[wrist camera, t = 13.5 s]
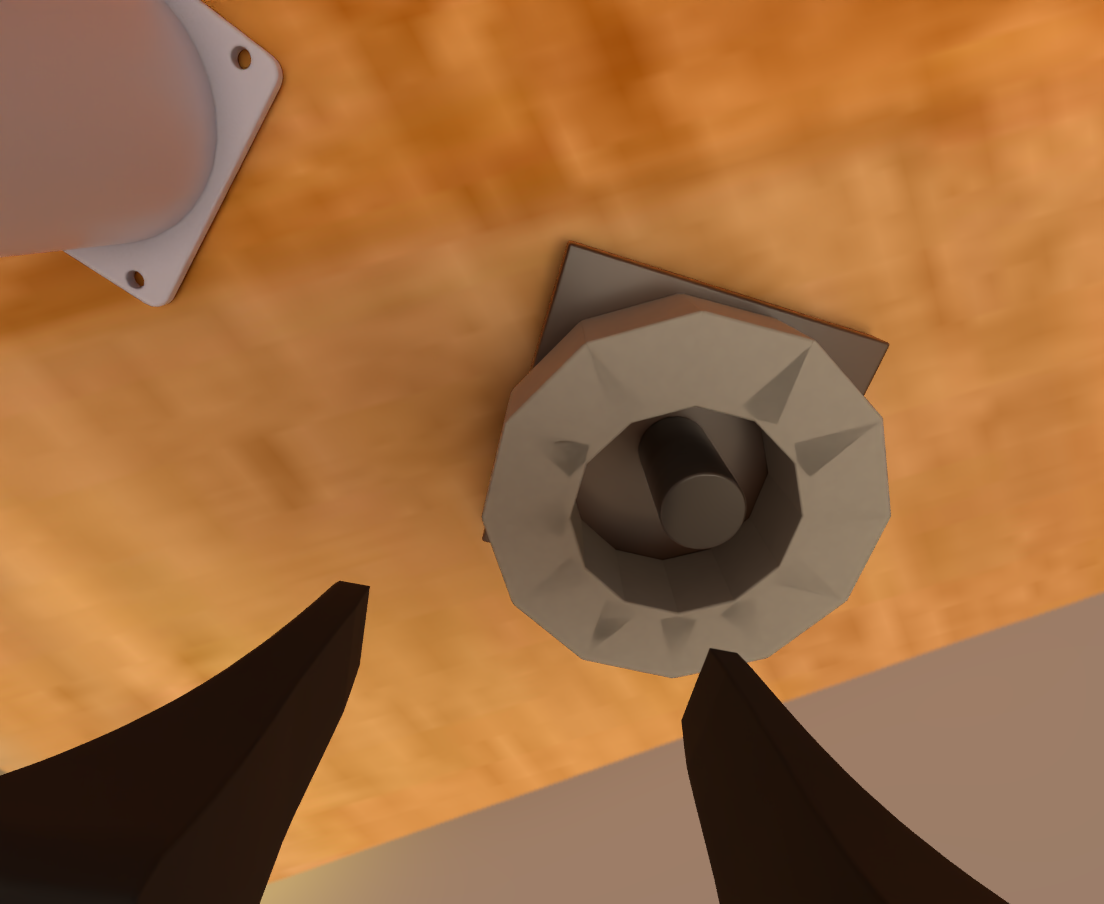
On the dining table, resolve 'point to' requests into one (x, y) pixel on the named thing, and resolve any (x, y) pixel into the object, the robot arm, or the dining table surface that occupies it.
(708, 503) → the stand
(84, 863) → the robot arm
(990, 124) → the dining table surface
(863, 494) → the tape roll
